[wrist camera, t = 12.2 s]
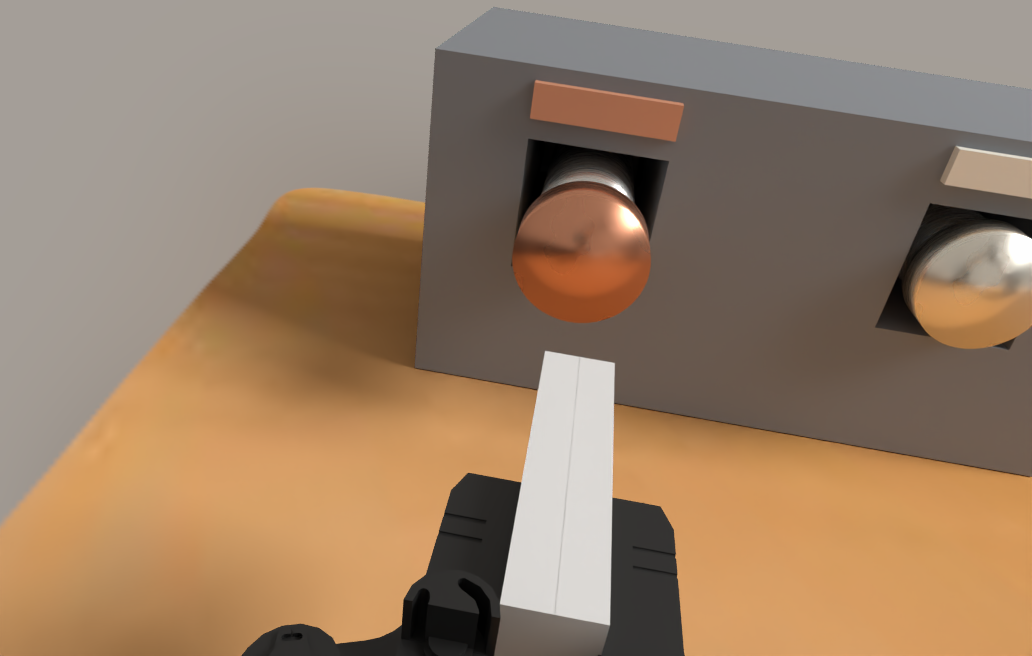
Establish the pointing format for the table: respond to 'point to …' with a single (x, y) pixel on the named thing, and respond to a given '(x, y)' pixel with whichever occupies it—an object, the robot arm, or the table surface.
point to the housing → (731, 230)
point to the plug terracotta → (583, 238)
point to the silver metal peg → (968, 278)
